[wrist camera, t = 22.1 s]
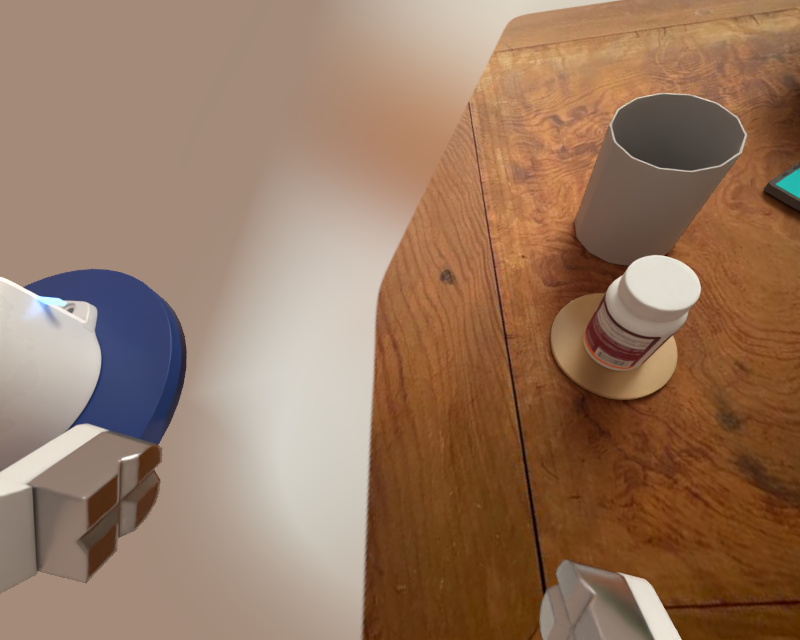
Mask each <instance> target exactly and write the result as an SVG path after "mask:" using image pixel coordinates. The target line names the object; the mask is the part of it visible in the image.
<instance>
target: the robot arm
mask: <svg viewBox="0 0 800 640" xmlns="http://www.w3.org/2000/svg"><path fill="white" fill-rule="evenodd" d="M96 321H97V308H96V307H95V306H93V305H91V304H89V303H87V302H83V301H66V300H61V299H59V298H49V297H40V296H38V295H36V294H34V293H32V292H31V291H29V290H27V289H25V288H23V287H21V286H19V285H17V284H15V283H13V282H11V281H10V280H7V279H5V278H2V277H0V593H2V592H4V591H6V590H8V589H10V588H12V587H14V586H16V585H17V584H19V583H21V582H23V581H25V580H27V579H29V578H31V577H32V576H35V575H36V574H37V571H40V572H43V573H47V574H51V575H56V576H60V577H63V578H67V579H71V580H75V581H79V582H83V583H87V582H88V581H89V580H90V579H91V578H92V576H93V575H94V574H95V573H96V572H97V571H98V570H99V569H100V568H101V567H102V566H103V565H104V564H105V563H106V562H107V560H108V559H109V558H110V557H111V556H112V555H113V554H114V553H115V552H116V551H117V546H118V538H119V537H121V536H124V535H126V534H128V533H131V532H133V531H135V530H136V529H137V528H138V527H139V526H140V525H141V523H142V522H143V521H144V520H145V519H146V518H147V517H148V515H149V513H150V511H151V510H152V508H153V506H154V505H155V503H156V500H157V497H158V494H159V490H160V479H159V477H158V475H157V474H156V472H155V470H154V469H155V468H156V467H157V466H158V465H159V464H160V463H161V462H162V448H161V447H160V446H158V445H157V444H154V443H151V442H148V441H145V440H141V439H138V438H135V437H132V436H128V435H125V434H122V433H119V432H115V431H112V430H106V429H103V428H100V427H97V426H94V425H91V424H88V423H86V424H81V425H76V426H75V427H73V428H71V429H70V430H68V429H69V428H70V426H71V425H72V424H73V423H74V422H75V420H76V419H77V418H78V417H79V415H80V414H81V412H82V411H83V409H84V408H85V406H86V405H87V403H88V401H89V400H90V398H91V396H92V394H93V392H94V389H95V387H96V384H97V381H98V378H99V374H100V369H101V349H100V345H99V343H98V340H97V337H96V334H95V327H96ZM67 430H68V431H67ZM555 573H556V577H557V580H558V584H556V585H554V586H552V587H550V588H548V589H547V590H546V593H545V595H544V597H543V599H542V602H541V609H540V617H539V620H540V633H541V637H542V640H681V638H680V636H679V634H678V632H677V630H676V629H675V627H674V625H673V623H672V621H671V620H670V618H669V616H668V614H667V612H666V610H665V609H664V607H663V605H662V603H661V601H660V600H659V598H658V596H657V594H656V592H655V590H654V589H653V587H652V586H651V585H650V584H649V583H648V582H647V581H646V580H645V579H642V578H638V577H634V576H631V575H627V574H623V573H619V572H618V573H616V572H614V571H611V570H607V569H603V568H599V567H596V566H592V565H588V564H585V563H581V562H577V561H574V560H570V559H565V560H563V561H562V562H561V563H560V564H559V566H558V568H557V570H556V572H555Z"/></svg>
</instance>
